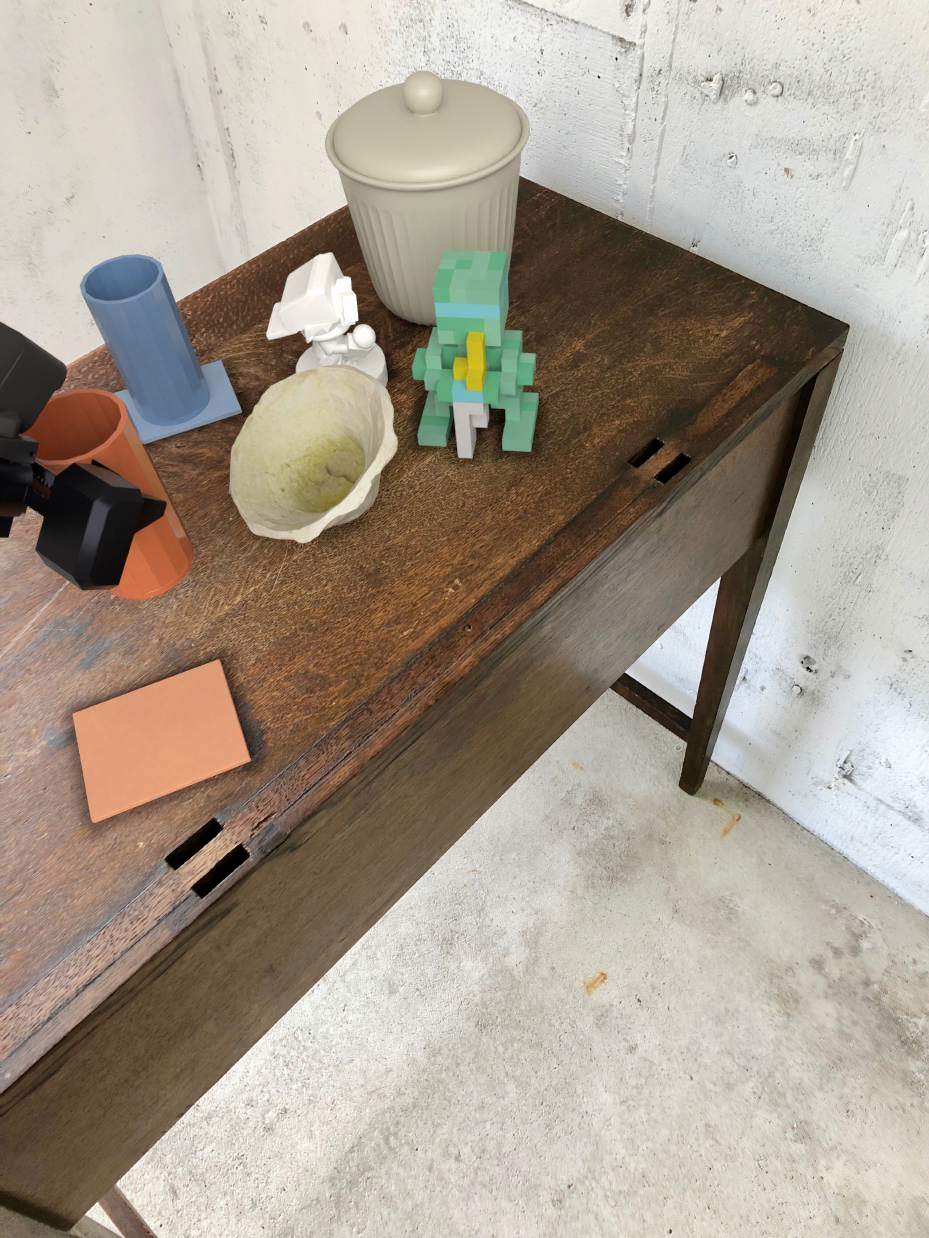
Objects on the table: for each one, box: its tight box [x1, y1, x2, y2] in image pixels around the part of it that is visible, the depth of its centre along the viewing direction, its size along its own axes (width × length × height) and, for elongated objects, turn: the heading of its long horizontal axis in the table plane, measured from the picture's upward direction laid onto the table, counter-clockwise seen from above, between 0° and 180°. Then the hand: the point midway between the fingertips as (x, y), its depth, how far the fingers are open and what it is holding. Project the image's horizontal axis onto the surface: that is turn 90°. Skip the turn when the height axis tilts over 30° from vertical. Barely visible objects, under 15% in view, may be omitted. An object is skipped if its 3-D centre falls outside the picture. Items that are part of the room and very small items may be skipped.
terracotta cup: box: [19, 387, 195, 601], centre depth 58 cm, size 7×7×13 cm
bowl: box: [228, 365, 399, 544], centre depth 70 cm, size 15×14×10 cm
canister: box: [324, 70, 531, 327], centre depth 82 cm, size 18×18×21 cm
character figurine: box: [265, 251, 389, 389], centre depth 79 cm, size 9×10×12 cm
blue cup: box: [79, 253, 210, 426], centre depth 77 cm, size 7×7×13 cm
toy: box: [411, 250, 540, 459], centre depth 73 cm, size 10×10×15 cm
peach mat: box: [72, 658, 252, 824], centre depth 62 cm, size 11×9×1 cm
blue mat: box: [113, 359, 243, 445], centre depth 83 cm, size 11×8×1 cm
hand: (128, 486), depth 59 cm, fingers closed on terracotta cup, 7 cm apart
